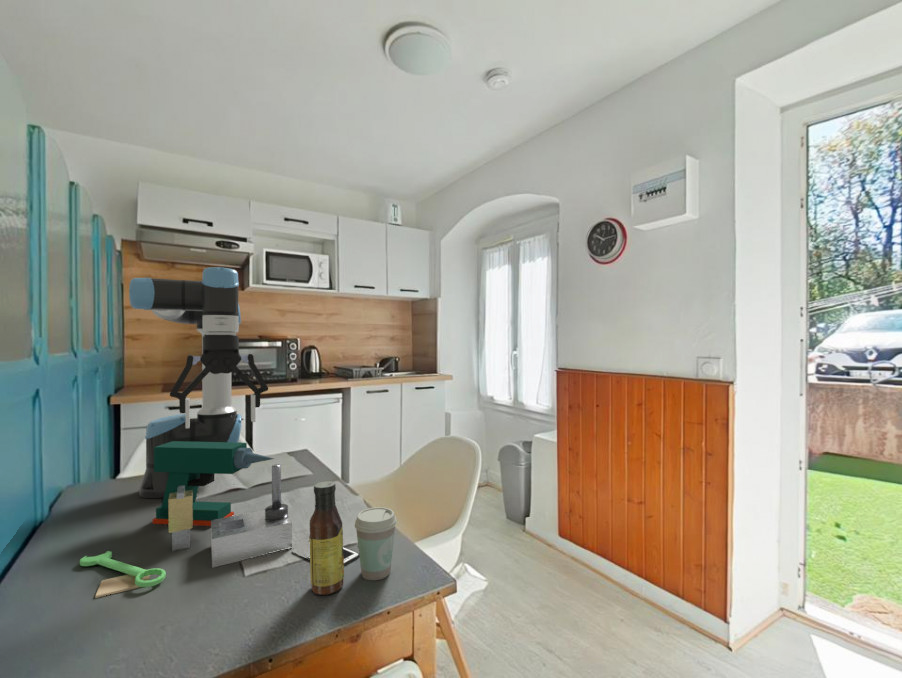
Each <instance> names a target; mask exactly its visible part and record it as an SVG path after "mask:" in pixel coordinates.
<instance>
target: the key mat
mask: <svg viewBox="0 0 902 678" xmlns="http://www.w3.org/2000/svg"><path fill="white" fill-rule="evenodd" d="M135 578H136V577H135V576H132V575H129V574H125V575H119V576H115V577H110V578H107V579H102V580H101V582H100V583H99V585H98V588H97V591H96V593H95V596H94V598H95V599H99V598H102V597H105V596H106V595H107V596H110V594H111V595H114V594H118V593H122V592H126V591H127V592H128V591H131V590H134V589H140V588H141V587H139V586H137V585H136V584H135ZM150 578H151V575H148V576H144V577H143V578H141V579H140V580H144V581H146V580H150Z"/></svg>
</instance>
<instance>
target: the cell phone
mask: <svg viewBox="0 0 902 678" xmlns="http://www.w3.org/2000/svg"><path fill="white" fill-rule="evenodd" d="M343 557H344V567H345V566H347V565H349V564H351V563H353V562H354V561H356V560H358V559H360V556H359V551H358V552H357V551H355V550H353V549H350V548H348V547H345V546H343ZM308 559H309V560H310V557H308ZM309 560H308V561H309Z"/></svg>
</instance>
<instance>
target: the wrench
mask: <svg viewBox="0 0 902 678" xmlns="http://www.w3.org/2000/svg"><path fill="white" fill-rule="evenodd" d="M112 555H113V552H112V551H109V550H106V552H105V553H101V554H98V555H95V556H88V555H85V556H83V557H82V558H80V560H79V565H80V566H81V567H92V566H96V565H99V566H101V567H104V568H105V567H106V568H108V569H112V570H115V571H117V572H121V573H123V574H125V575H128V574H129V575H132V576H135V577H136V578H135V584H136V585H137V586H139V587H140V588H149V587H153V586H157V585H159V584H161V583H162V582H163V581H164V580H165V578H166V575H167V573H166V572H167V571H166V570H165V569H163V568H158V567H157V568H149V569H145V568H143V567H142V568H141V567H139V566H136V565H132V564H128V563H125V562H122V561H119V560H115V559H112V557H113V556H112ZM148 575H150V576H151V575H152V576H153V575H157V576H158V577H156V578H153V579H149V580H146V581H144V580H140V579H141V578H143V577H144V576H148Z"/></svg>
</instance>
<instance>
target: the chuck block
mask: <svg viewBox="0 0 902 678" xmlns="http://www.w3.org/2000/svg"><path fill="white" fill-rule="evenodd" d="M288 547H292V548H293V521H292V519H291V518H290V515H289V505H287V504H286V503H282V464H280V463H279V464H272V466H271V505H269V506H267V507H265V508H264V509H261V510H258V511H251V512H247V513H246V512H245V513H242V514H237V515H236V514H235V515H234V516H230V517H225V518H220V519H215V520H211V526H210V548H211V549H210V550H211V553H210V554H211V567H212V568H216V567H221V566H225V565H229V564H234V563H238V562H241V560H242V561H244V560H243V559H247V558H251V557H255V556H259V555H262V554H266V553H269V552H273V551H277V550H281V549H285V548H288ZM259 557H260V556H259ZM255 558H256V557H255ZM251 559H252V558H251ZM247 560H248V559H247Z"/></svg>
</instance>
